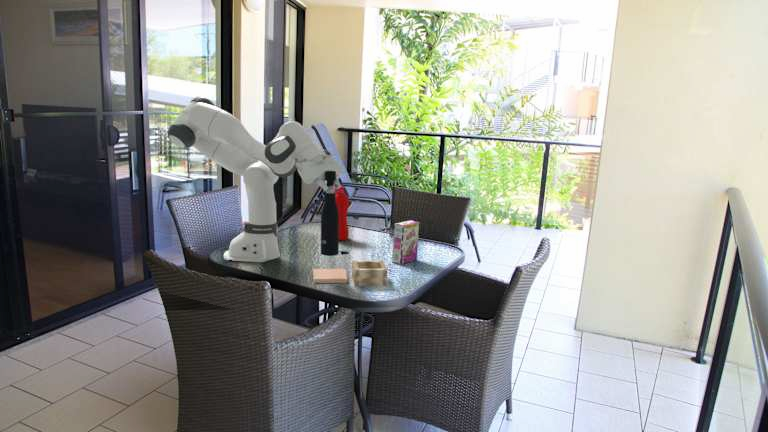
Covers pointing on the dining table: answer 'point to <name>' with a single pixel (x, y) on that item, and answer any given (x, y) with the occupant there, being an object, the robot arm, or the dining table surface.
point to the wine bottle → (330, 219)
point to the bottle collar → (369, 273)
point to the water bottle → (342, 212)
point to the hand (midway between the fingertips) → (333, 188)
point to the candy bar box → (405, 242)
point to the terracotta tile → (329, 276)
